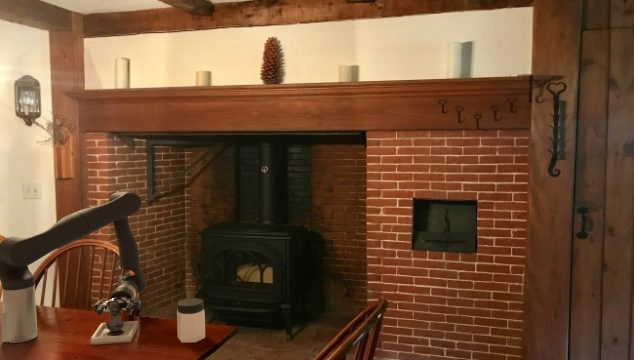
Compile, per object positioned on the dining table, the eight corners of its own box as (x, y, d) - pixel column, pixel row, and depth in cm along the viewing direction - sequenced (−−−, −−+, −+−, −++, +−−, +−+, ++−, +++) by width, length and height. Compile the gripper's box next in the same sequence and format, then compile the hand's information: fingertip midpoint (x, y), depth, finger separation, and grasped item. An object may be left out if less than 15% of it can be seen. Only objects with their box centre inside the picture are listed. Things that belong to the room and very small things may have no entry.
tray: (90, 344, 165) (90, 338, 165) (101, 328, 179) (101, 323, 179) (130, 342, 167) (130, 336, 167) (138, 326, 181) (137, 320, 181)
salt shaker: (112, 338, 169) (110, 301, 168) (102, 333, 173) (100, 298, 172) (128, 332, 174) (127, 297, 173) (118, 328, 177) (117, 294, 176)
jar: (208, 340, 168) (207, 303, 168) (182, 345, 164) (181, 307, 164) (199, 331, 176) (198, 296, 175) (175, 335, 172) (174, 300, 171)
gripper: (101, 287, 185) (89, 302, 169) (143, 285, 188) (135, 299, 172) (102, 308, 186) (90, 324, 170) (144, 306, 188) (136, 321, 172)
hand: (113, 311), depth 171 cm, fingers open, 8 cm apart
